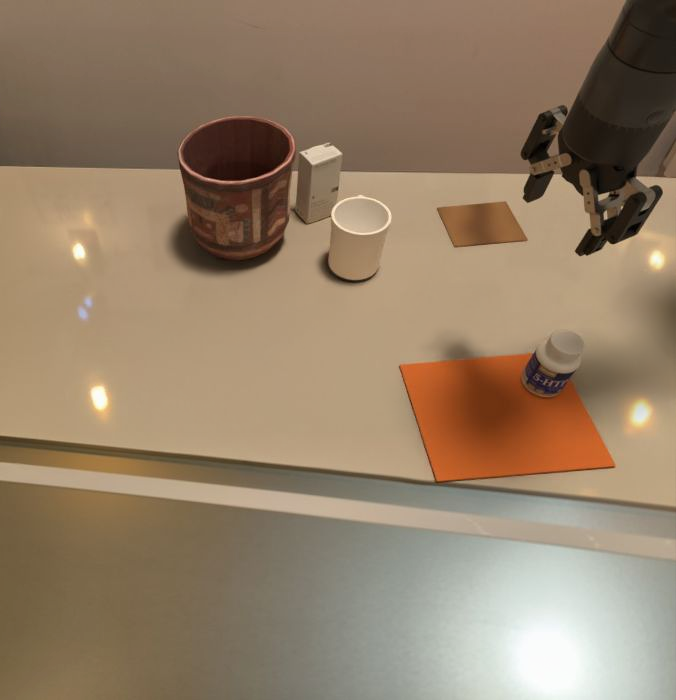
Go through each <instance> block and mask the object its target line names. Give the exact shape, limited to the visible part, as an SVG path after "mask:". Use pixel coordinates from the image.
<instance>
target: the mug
mask: <svg viewBox="0 0 676 700" xmlns="http://www.w3.org/2000/svg"><path fill="white" fill-rule="evenodd" d="M391 212H392V211H391V210H390V209H389V207H388V206H387V205H386V204H384V202H382V201H379V200H378V199H375V198H371V197H368V196H367V197H366V196H365V194H364V195H363V194H358V195H357V196H351V197H347V198H345V199H341V200H340V201H338V202H337V204H336V205H335V206H334V208H333V209H332V213H331V216H330V237H329V238H330V239H329V249H328V260H327V263H328V268H329V270H330V272H331V274H333V275H334V276H335V277H337V278H338V279H340V280H342V281H345V282H351V283H360V282H365V281H367V280H369V279H371V278H372V277H374V276H375V275H376V274H377V272H378V270H379V266H380V262H381V258H382V254H383V250H384V246H385V242H386V237H387V234H388V232H389V228H390V226H391V223H392V213H391Z"/></svg>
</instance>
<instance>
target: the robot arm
mask: <svg viewBox="0 0 676 700" xmlns="http://www.w3.org/2000/svg"><path fill="white" fill-rule="evenodd" d="M675 113H676V0H625V1H624V4H623V6H622V7H621V10H620V12H619V14H618V16H617V18H616V20H615V23H614V25H613V27H612V28H611V31H610V33H609V35H608V37H607V38H606V40H605V42H604V44H603V45H602V47H601V48H600V49H599V51H598V53H597V55H596V56H595V57H594V60H593V61H592V63H591V65H590V67H589V69H588V72H587V74H586V76H585V78H584V80H583V82H582V84H581V87H580V89H579V91H578V92H577V95H576V97H575V99H574V101H573V103H572V105H571V107H570V110H569V111H568V107H567V106H566V105H564V104H560V105H559V106H555V107H553V108H550V109H548V110H545V111H544V112H541V113H539V114H538V115H537V118H536V120H535V122H534V124H533V126H532V128H531V130H530V132H529V134H528V136H527V138H526V140H525V142H524V144H523V146H522V149H521V150H520V157H521V159H522V160H523V161H528V163H529V172H530V173H529V176H528V177H527V180H526V181H525V184H524V186H523V196H522V200H524V202H525V203H527V204H529V203H532V202H535V201H537V200H539V199H541V198H542V197H544V196H545V193H546V191H547V189H548V187H549V185H550V183H551V181H552V179H553V177H554V175H555V173H556V172H555V171H554V170H557V169H560V171H561V177H562V178H563V179H564V180H565V181H566V182H568V183H569V184H571V185H572V186H573V187H574V189H575V190H576V192H577V193H578V194H580V196H582V197H583V206H584V212H585V213H586V214H589V222H590V224H589V225H590V228H588V229H587V230H586V231H585V234H584V235H583V237H582V239H581V240H580V242H579V243H578V245H577V246H576V248H575V250H574V252H575V254H576V255H578V257H582V256H583V257H584V256H586V257H587V256H591V255H593V254H595V253H598V252H600V251H602V250H603V249H604V247H605V245H606V244H607V243H609V245H616V244H618V243H621V242H623V241H627V240H628V239H631V238H632V237H635V236H637V235H638V234H639V233H640V231H641V229H642V228H643V226H644V225H645V223H646V222H647V220H648V219H649V217H650V215H651V214H652V213H653V211H654V209H655V207H656V206H657V204H658V203H659V201H660V200H661V198H662V197H663V193H664V191H663V188H662V187H661V186H660V185H658V184H654V185H651V186H649V187H648V186H646V185H645V184H644V183H643V182H642V181H640V180H638V179H637V176H638V174H637V173H638V167H639V164H640V163H641V162H642V161H643V160H644V158H645V157H646V156H647V155H648V154H649V153H650V151H651V150H652V149H653V147H654V145H655V144H656V142H657V141H658V139H659V138H660V136H661V135H662V133H663V131H664V130H665V128H666V127H667V125H668V124H669V122H670V121H671V120H672V118H673V116H674V114H675ZM556 136H557V148H558V153H556V154H554V155H551V156H550V154H549V152H548V151H549V149H550V147H551V145H552V143H553V142H554V140H555V138H556ZM607 193H609V194H608V195H607V196H606V197H605V198H603V199H600V200H599V196H600V195H604V194H607ZM605 213H606V217H607V218H606V219H605Z"/></svg>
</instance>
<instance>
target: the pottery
mask: <svg viewBox="0 0 676 700" xmlns="http://www.w3.org/2000/svg"><path fill="white" fill-rule="evenodd" d="M296 154H297V146H296V139H295V137H294V136H293V135H292V133H291V132H290V131H289V130H288V129H287V128H286V126H283V125H281V124H279V123H277V122H275V121H272V120H271V119H266V118H260V117H258V116H257V117H256V116H252V115H251V116H250V115H249V116H248V115H247V116H228V117H223V118H218V119H214V120H211V121H209V122H206V123H204V124H201V125H199V126H198V127H196V128H195V129H193V130H191V131H190V132H189V133H188V134H187V135H186V136H185V137H184V139H182V141H181V142H180V144H179V146H178V149H177V160H178V165H179V172H180V176H181V179H182V184H183V190H184V195H185V203H186V204H185V205H186V213H187V219H188V224H189V229H190V231H191V234H192V235H193V237H194V238H195V240H196V241H197V243H198V244H199V246H201V248H202V249H204V250H205V251H207V252H208V253H209V254H212V255H213V256H215V257H218V258H221V259H224V260H227V261H245V260H251V259H253V258H254V259H255V258H256V257H258V256H261V255H263V254H265V253H267V252H268V251H269V250H270V249H271V248H273V247H274V246H275V245H276V244H277V243H278V242H279V241H280V240H281V239H282V237H283V235H284V233H285V231H286V229H287V227H288V224H289V221H290V215H291V186H292V178H293V171H294V167H295V166H294V165H295V162H296Z"/></svg>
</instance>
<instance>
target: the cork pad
mask: <svg viewBox="0 0 676 700" xmlns="http://www.w3.org/2000/svg"><path fill="white" fill-rule="evenodd" d="M436 210H437V213H438V214H439V217H440V219H441V221H442V223H443V225H444V228H445V230H446V232H447V234H448V236H449V237H450V241H451V242H452V245H453V247H454V248H462V247H474V246H483V245H494V244H496V245H497V244H507V243H517V242H527V241H528V238H527V236H526V234H525V232H524V230H523V228H522V227H521V225H520V223H519V222H518V219H517V218H516V217H515V214H514V213H513V211H512V210H511V208H510V206H509V205H508V203H507V201H506V200H504V201H495V202H494V201H493V202H483V203H482V202H481V203H471V204H461V205H450V206H438V207H436Z"/></svg>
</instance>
